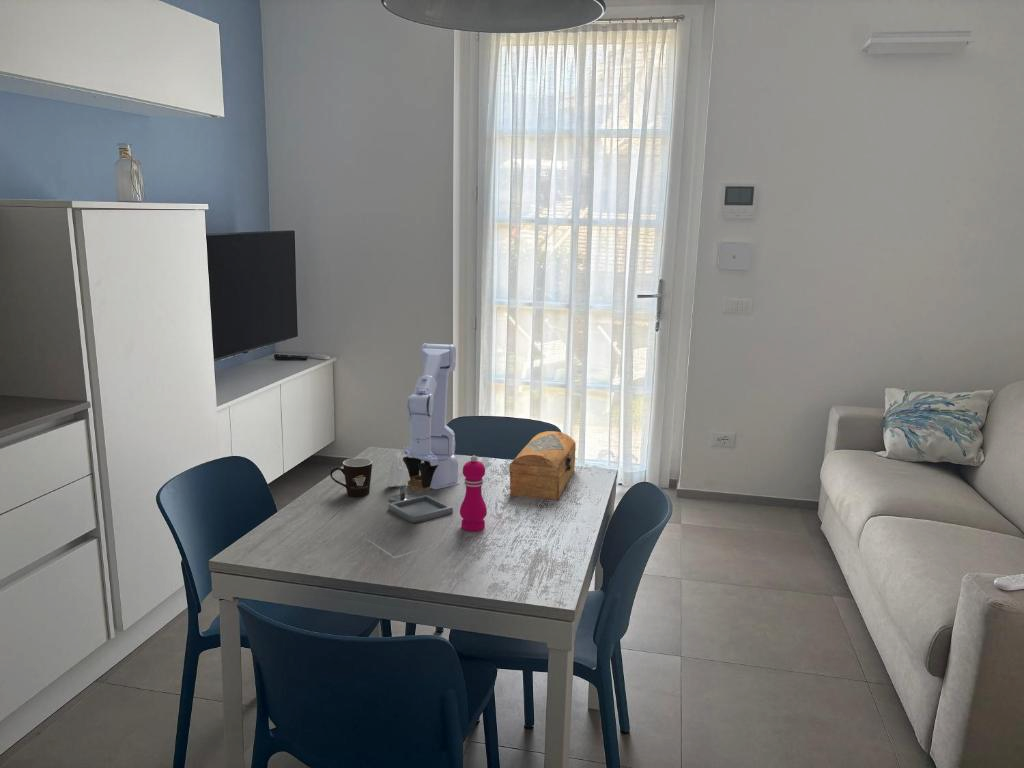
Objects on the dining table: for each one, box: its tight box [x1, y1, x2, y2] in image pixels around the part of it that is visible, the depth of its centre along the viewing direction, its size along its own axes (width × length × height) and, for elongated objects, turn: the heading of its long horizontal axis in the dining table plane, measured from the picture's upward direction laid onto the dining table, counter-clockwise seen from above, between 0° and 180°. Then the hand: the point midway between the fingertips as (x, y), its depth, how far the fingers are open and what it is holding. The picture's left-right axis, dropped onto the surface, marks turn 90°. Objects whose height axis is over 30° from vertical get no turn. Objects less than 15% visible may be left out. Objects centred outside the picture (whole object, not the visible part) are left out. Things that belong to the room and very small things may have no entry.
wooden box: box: [508, 430, 577, 501], centre depth 247 cm, size 30×16×14 cm, turn 165°
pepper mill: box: [459, 455, 488, 532], centre depth 210 cm, size 7×7×20 cm
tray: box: [387, 494, 454, 525], centre depth 222 cm, size 13×13×2 cm
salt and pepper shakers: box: [386, 452, 424, 488], centre depth 241 cm, size 12×4×11 cm, turn 115°
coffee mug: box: [329, 457, 373, 498], centre depth 234 cm, size 12×9×10 cm
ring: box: [407, 475, 431, 493], centre depth 220 cm, size 5×8×3 cm
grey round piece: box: [388, 483, 416, 503], centre depth 230 cm, size 8×8×5 cm
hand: (420, 484), depth 220 cm, fingers closed on ring, 5 cm apart
